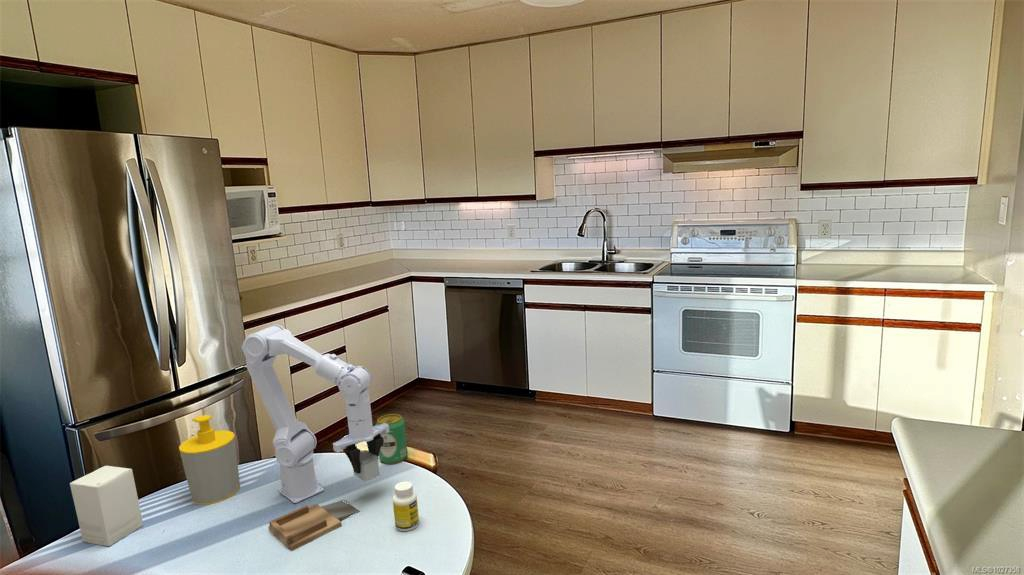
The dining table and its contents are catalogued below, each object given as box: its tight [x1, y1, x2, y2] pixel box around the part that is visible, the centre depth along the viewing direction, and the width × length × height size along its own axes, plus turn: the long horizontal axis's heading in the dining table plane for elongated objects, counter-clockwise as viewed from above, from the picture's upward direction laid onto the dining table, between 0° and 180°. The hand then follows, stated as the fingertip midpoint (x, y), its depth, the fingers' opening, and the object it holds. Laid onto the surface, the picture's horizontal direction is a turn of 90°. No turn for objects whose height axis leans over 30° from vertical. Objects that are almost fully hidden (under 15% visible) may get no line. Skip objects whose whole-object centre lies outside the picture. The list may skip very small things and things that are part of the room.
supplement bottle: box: [392, 481, 420, 532], centre depth 132 cm, size 5×5×10 cm
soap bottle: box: [178, 414, 241, 506], centre depth 151 cm, size 13×13×21 cm
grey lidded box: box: [353, 449, 381, 483], centre depth 144 cm, size 6×4×5 cm
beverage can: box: [375, 413, 408, 465], centre depth 165 cm, size 8×8×12 cm
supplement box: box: [69, 465, 144, 547], centre depth 136 cm, size 9×9×15 cm
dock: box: [268, 499, 361, 552], centre depth 136 cm, size 12×18×3 cm, turn 135°
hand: (365, 468), depth 144 cm, fingers closed on grey lidded box, 4 cm apart
